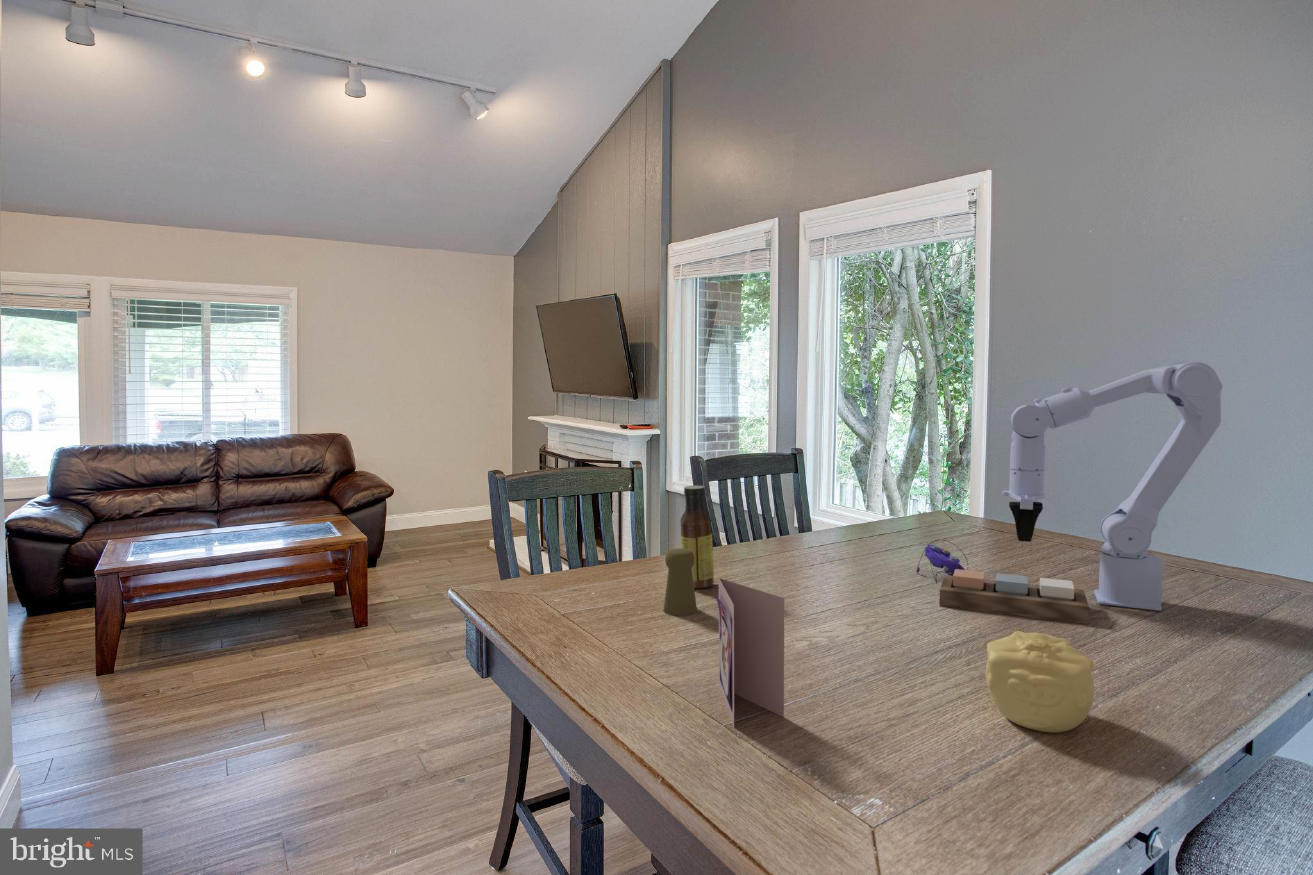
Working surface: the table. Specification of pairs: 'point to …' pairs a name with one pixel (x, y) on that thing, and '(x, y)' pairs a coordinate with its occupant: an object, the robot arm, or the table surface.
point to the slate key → (1011, 584)
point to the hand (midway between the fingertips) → (1024, 540)
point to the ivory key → (1056, 589)
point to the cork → (680, 583)
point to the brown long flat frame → (1015, 602)
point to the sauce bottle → (698, 536)
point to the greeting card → (751, 646)
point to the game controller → (941, 559)
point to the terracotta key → (968, 579)
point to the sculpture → (1040, 681)
